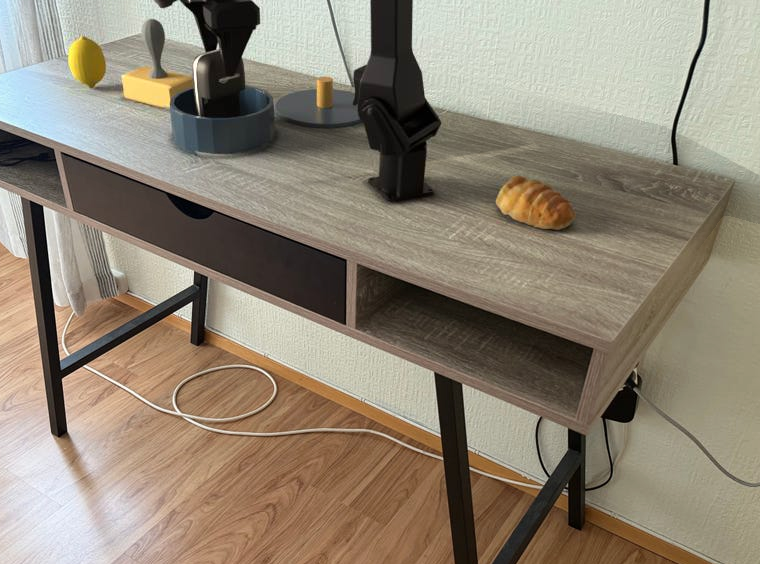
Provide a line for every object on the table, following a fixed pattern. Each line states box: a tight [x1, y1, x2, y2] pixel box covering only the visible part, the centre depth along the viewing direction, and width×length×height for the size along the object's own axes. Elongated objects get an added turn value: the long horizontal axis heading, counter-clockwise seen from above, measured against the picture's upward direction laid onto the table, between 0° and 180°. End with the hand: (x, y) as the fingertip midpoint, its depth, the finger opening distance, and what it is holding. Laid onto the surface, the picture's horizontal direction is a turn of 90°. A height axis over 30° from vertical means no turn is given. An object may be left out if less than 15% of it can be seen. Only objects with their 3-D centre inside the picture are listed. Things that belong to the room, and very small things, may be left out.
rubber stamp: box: [121, 18, 194, 109], centre depth 124 cm, size 10×6×12 cm, turn 60°
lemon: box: [67, 35, 107, 89], centre depth 129 cm, size 6×6×8 cm
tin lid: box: [274, 76, 362, 129], centre depth 123 cm, size 15×15×5 cm
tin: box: [169, 84, 276, 156], centre depth 115 cm, size 14×14×5 cm
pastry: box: [495, 175, 576, 231], centre depth 98 cm, size 9×7×4 cm
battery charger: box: [191, 48, 246, 118], centre depth 113 cm, size 7×4×11 cm, turn 138°
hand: (220, 65), depth 110 cm, fingers open, 9 cm apart
